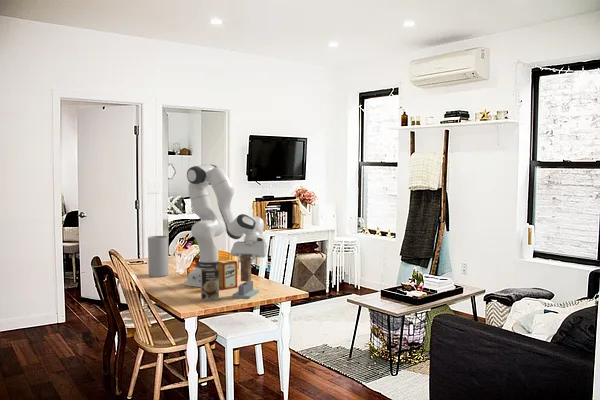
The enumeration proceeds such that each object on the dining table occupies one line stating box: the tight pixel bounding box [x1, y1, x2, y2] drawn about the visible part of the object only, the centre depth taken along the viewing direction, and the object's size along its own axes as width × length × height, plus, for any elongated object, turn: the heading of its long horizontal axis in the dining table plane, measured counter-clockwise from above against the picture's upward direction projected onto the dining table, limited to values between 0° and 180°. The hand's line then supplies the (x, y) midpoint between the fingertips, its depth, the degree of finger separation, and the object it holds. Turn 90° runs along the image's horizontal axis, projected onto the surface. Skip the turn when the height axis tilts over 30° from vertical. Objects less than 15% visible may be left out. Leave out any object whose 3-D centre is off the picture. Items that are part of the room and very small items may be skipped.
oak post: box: [240, 255, 252, 282], centre depth 304 cm, size 4×4×14 cm
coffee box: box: [200, 269, 220, 302], centre depth 295 cm, size 9×6×16 cm
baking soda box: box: [217, 259, 238, 291], centre depth 322 cm, size 10×6×16 cm
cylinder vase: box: [147, 235, 170, 278], centre depth 356 cm, size 12×12×25 cm
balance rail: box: [232, 280, 260, 300], centre depth 305 cm, size 10×14×6 cm
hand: (245, 262), depth 303 cm, fingers closed on oak post, 4 cm apart
